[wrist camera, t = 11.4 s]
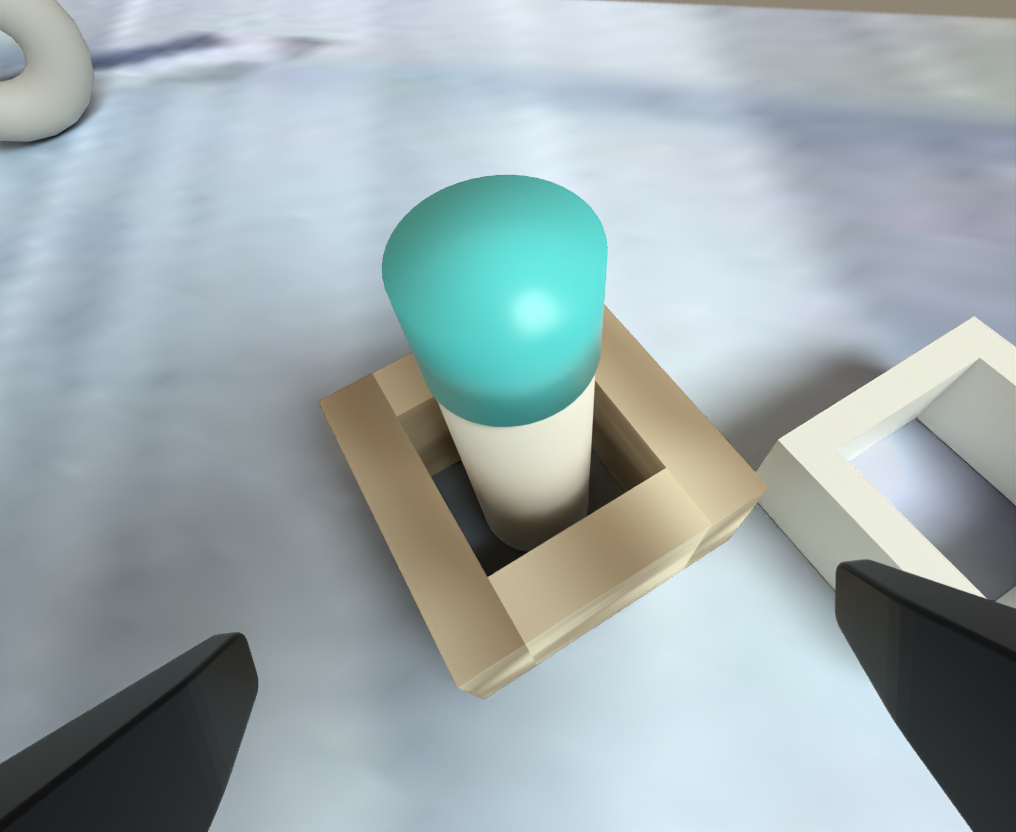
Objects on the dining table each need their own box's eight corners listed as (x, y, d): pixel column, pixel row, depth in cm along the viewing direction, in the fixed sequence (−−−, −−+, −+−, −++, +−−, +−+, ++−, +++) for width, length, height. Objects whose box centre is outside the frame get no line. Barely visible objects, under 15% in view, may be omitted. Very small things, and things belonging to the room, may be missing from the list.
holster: (936, 706, 18) (1025, 698, 14) (745, 487, 21) (777, 439, 18) (1125, 560, 19) (1249, 521, 16) (913, 380, 23) (974, 316, 19)
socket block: (484, 699, 19) (457, 687, 15) (365, 463, 24) (318, 401, 19) (728, 540, 21) (769, 487, 16) (572, 349, 25) (571, 268, 21)
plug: (599, 548, 21) (627, 326, 10) (484, 561, 21) (378, 358, 10) (582, 444, 23) (588, 161, 12) (477, 456, 23) (384, 191, 12)
